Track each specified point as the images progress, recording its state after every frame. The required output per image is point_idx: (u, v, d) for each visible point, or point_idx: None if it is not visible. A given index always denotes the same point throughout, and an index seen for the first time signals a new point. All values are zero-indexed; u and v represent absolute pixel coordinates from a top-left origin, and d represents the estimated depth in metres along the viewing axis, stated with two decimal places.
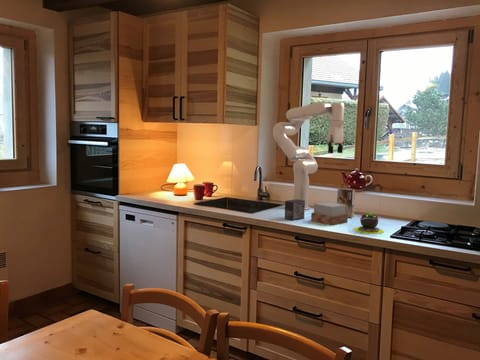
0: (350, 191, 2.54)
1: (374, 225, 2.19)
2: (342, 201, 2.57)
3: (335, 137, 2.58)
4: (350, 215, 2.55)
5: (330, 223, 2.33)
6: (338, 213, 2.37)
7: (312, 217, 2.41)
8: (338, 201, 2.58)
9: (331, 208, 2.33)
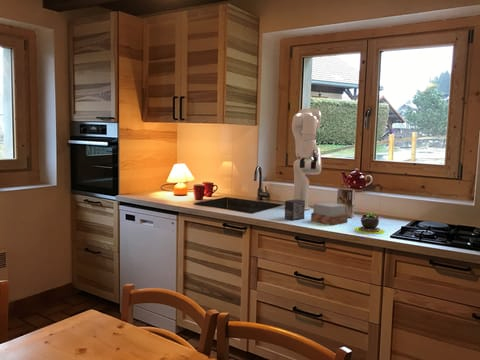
0: (350, 191, 2.54)
1: (375, 225, 2.19)
2: (342, 201, 2.57)
3: None
4: (350, 215, 2.55)
5: (330, 223, 2.33)
6: (337, 213, 2.36)
7: (312, 217, 2.41)
8: (338, 201, 2.58)
9: (330, 208, 2.33)
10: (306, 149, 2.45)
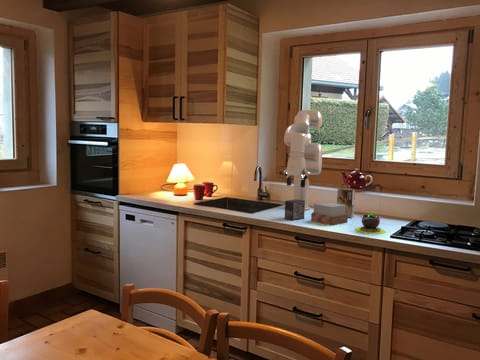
0: (350, 191, 2.54)
1: (375, 225, 2.18)
2: (342, 201, 2.57)
3: None
4: (350, 215, 2.55)
5: (330, 223, 2.33)
6: (338, 213, 2.37)
7: (312, 217, 2.41)
8: (338, 201, 2.58)
9: (330, 208, 2.33)
10: (295, 167, 2.41)
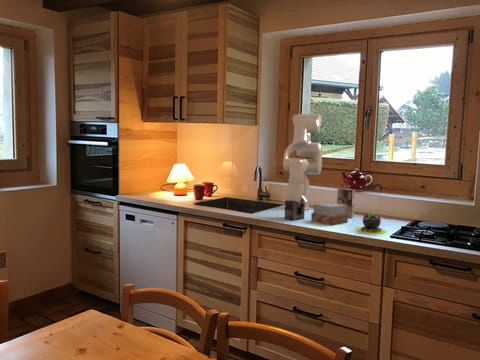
0: (350, 191, 2.54)
1: (376, 225, 2.18)
2: (342, 201, 2.57)
3: None
4: (350, 215, 2.55)
5: (330, 223, 2.33)
6: (337, 213, 2.36)
7: (313, 218, 2.41)
8: (338, 201, 2.58)
9: (330, 208, 2.33)
10: (294, 193, 2.43)
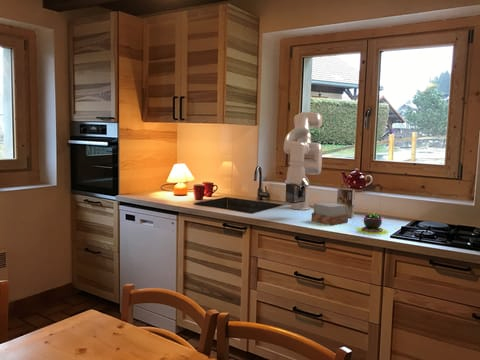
0: (350, 191, 2.54)
1: (377, 225, 2.18)
2: (342, 201, 2.57)
3: None
4: (350, 215, 2.55)
5: (330, 223, 2.33)
6: (337, 213, 2.36)
7: (313, 217, 2.41)
8: (338, 201, 2.58)
9: (329, 208, 2.33)
10: (295, 176, 2.42)
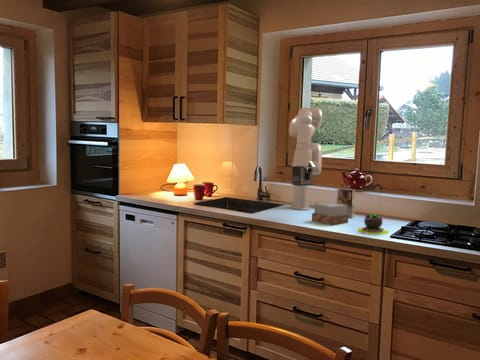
0: (350, 191, 2.54)
1: (378, 225, 2.18)
2: (342, 201, 2.57)
3: None
4: (350, 215, 2.55)
5: (331, 223, 2.33)
6: (338, 213, 2.36)
7: (313, 217, 2.41)
8: (338, 201, 2.58)
9: (330, 208, 2.33)
10: (302, 159, 2.40)
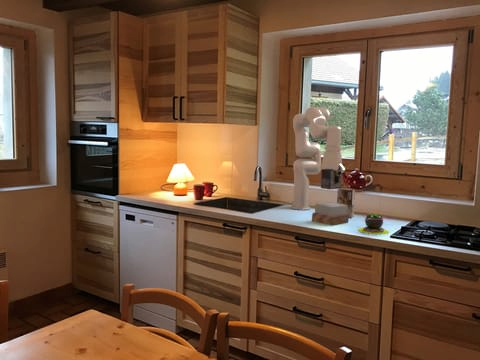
0: (350, 191, 2.54)
1: (379, 225, 2.18)
2: (342, 201, 2.57)
3: None
4: (350, 215, 2.55)
5: (331, 223, 2.33)
6: (339, 213, 2.37)
7: (313, 217, 2.41)
8: (338, 201, 2.58)
9: (331, 208, 2.33)
10: (332, 161, 2.35)
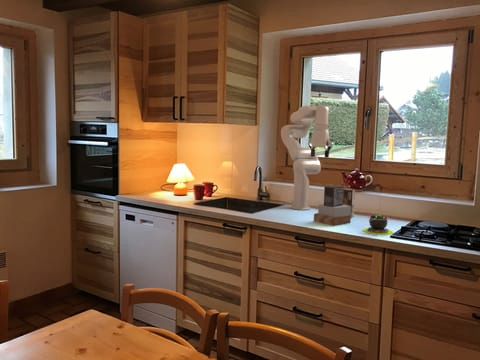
0: (350, 191, 2.54)
1: (383, 226, 2.17)
2: None
3: None
4: None
5: (332, 224, 2.32)
6: (342, 214, 2.35)
7: (315, 218, 2.41)
8: None
9: (334, 209, 2.32)
10: (320, 138, 2.54)
